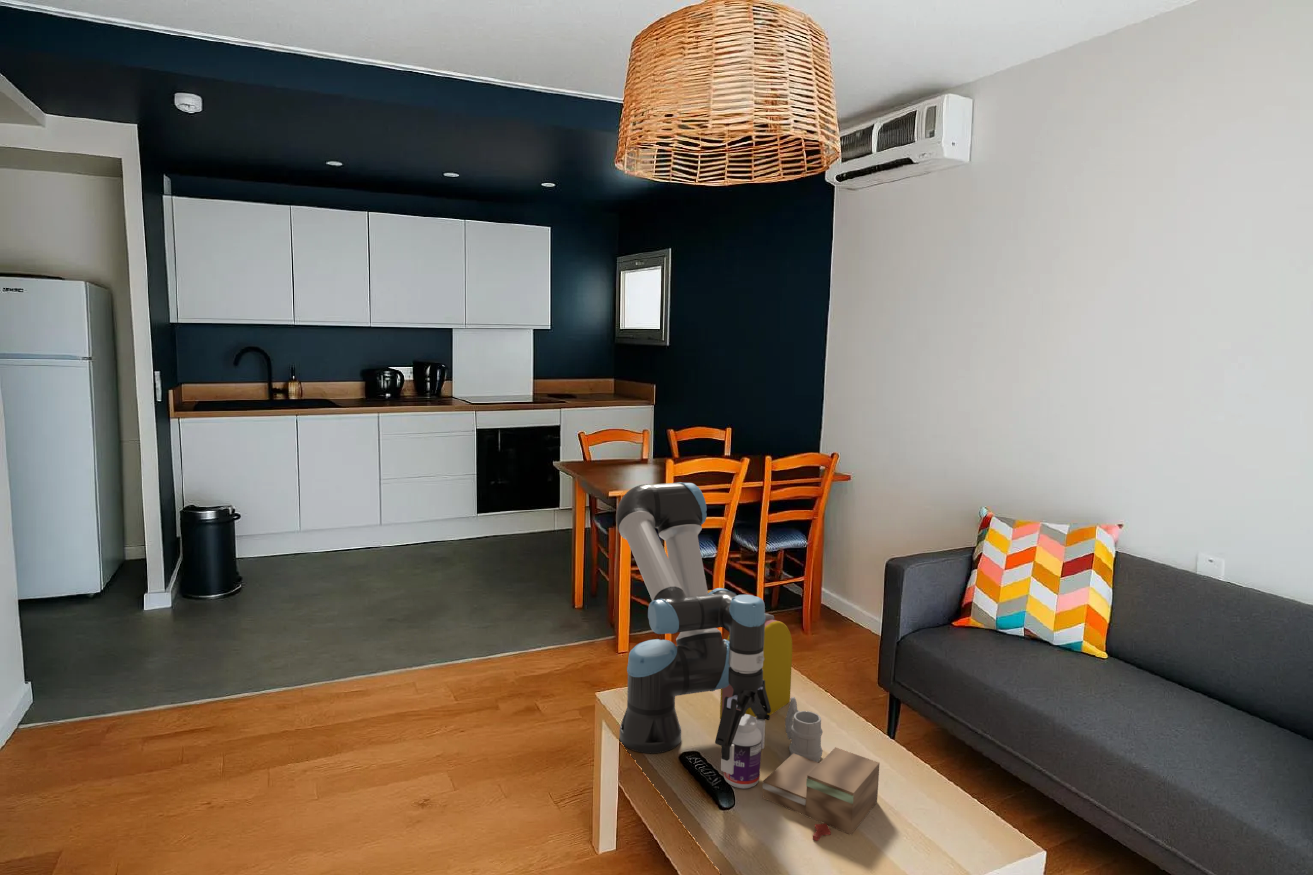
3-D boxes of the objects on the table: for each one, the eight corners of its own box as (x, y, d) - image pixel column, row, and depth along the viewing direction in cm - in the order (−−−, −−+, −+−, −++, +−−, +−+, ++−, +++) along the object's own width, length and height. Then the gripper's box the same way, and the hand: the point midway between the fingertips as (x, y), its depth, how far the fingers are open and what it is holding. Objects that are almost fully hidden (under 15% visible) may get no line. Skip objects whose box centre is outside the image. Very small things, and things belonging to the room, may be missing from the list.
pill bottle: (715, 778, 175) (717, 718, 173) (740, 766, 180) (742, 707, 178) (742, 795, 169) (745, 732, 167) (767, 781, 174) (769, 720, 172)
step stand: (748, 811, 163) (750, 771, 162) (792, 769, 179) (794, 732, 178) (838, 850, 151) (841, 807, 150) (877, 801, 167) (879, 762, 166)
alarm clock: (762, 690, 218) (766, 599, 215) (791, 701, 212) (795, 607, 209) (718, 718, 202) (721, 620, 199) (748, 730, 196) (751, 629, 193)
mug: (801, 768, 180) (804, 719, 178) (772, 743, 190) (774, 696, 189) (828, 760, 183) (831, 712, 181) (798, 737, 194) (800, 691, 192)
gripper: (731, 691, 159) (728, 789, 161) (787, 653, 179) (784, 741, 181) (700, 681, 163) (697, 777, 166) (758, 645, 183) (756, 731, 186)
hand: (743, 758), depth 173 cm, fingers open, 13 cm apart
